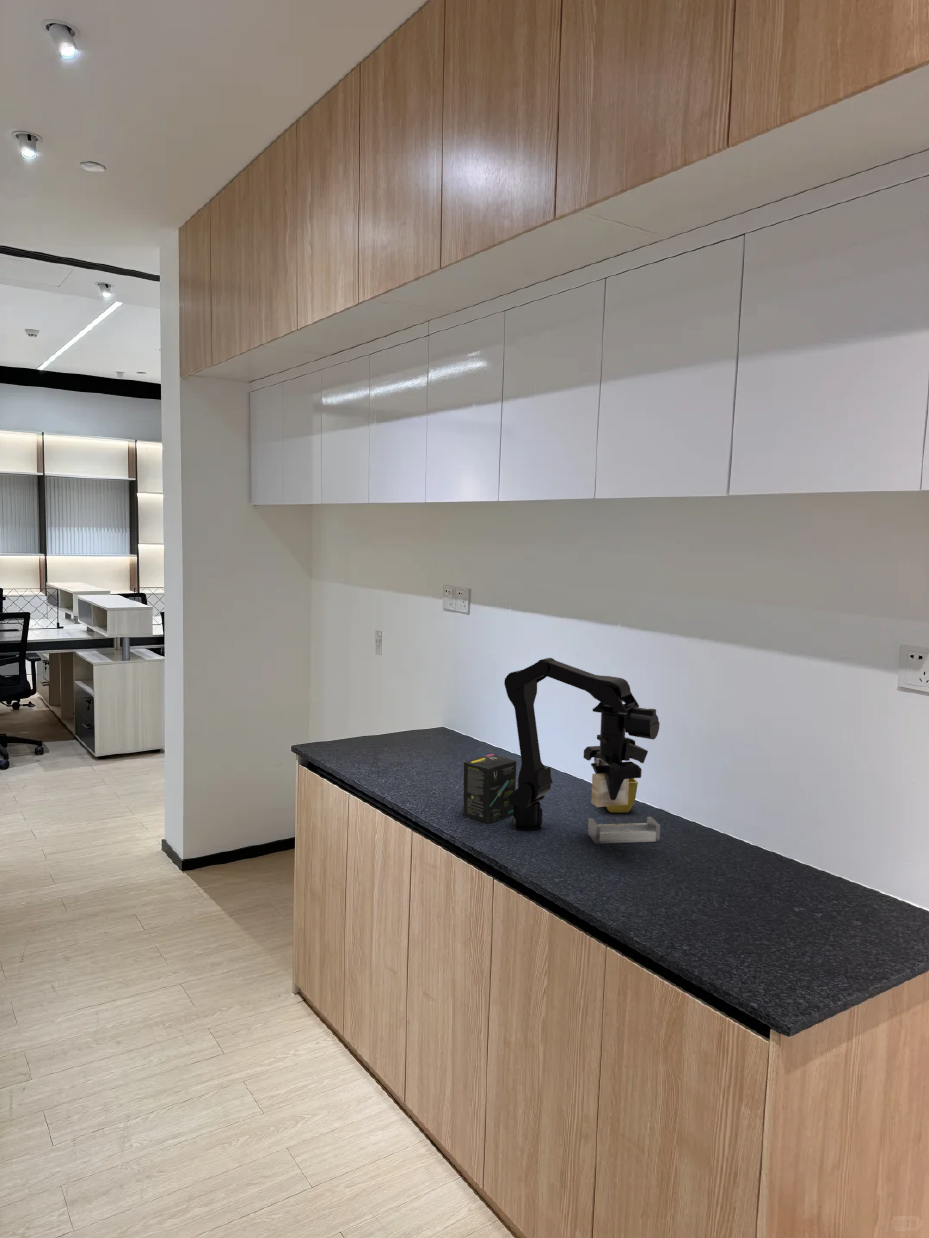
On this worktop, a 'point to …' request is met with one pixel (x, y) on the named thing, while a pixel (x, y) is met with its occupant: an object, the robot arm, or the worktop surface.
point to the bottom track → (624, 832)
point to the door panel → (607, 792)
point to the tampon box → (489, 787)
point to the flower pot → (631, 798)
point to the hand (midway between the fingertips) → (609, 797)
